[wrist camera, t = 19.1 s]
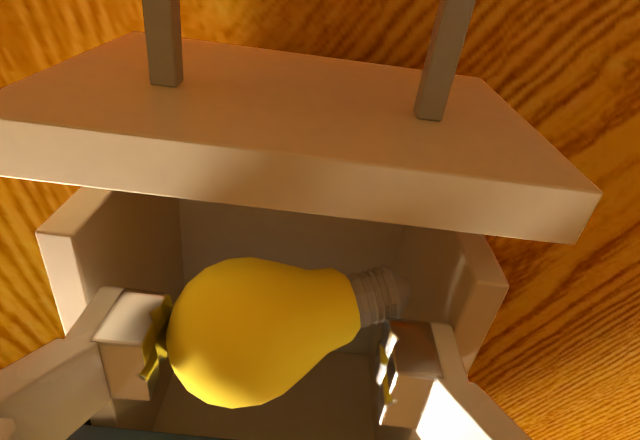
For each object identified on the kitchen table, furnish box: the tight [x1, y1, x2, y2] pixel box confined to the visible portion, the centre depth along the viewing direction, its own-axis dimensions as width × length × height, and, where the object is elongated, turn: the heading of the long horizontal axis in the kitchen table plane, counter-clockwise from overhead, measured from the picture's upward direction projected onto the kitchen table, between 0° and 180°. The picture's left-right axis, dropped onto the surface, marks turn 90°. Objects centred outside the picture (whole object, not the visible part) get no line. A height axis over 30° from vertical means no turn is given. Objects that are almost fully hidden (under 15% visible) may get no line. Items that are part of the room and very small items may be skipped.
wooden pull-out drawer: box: [0, 0, 603, 440], centre depth 13 cm, size 18×11×8 cm, turn 173°
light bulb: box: [166, 257, 412, 409], centre depth 10 cm, size 3×6×4 cm, turn 97°
